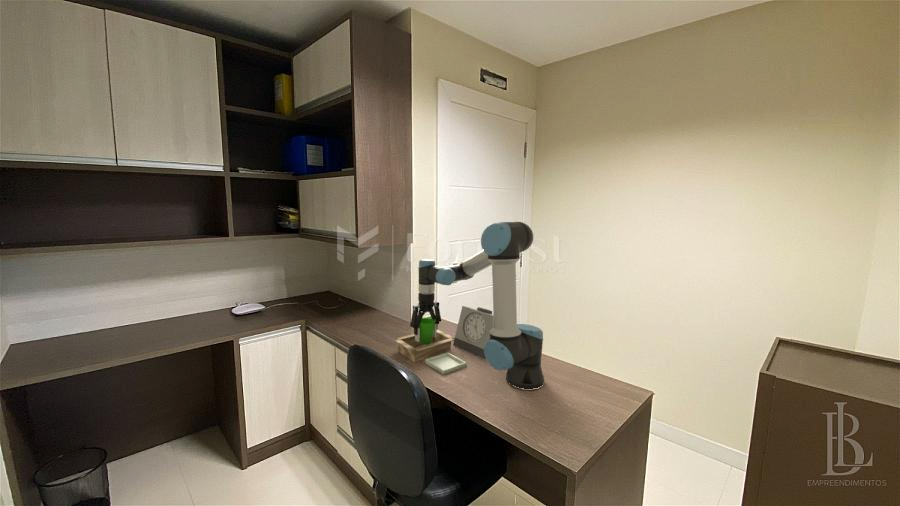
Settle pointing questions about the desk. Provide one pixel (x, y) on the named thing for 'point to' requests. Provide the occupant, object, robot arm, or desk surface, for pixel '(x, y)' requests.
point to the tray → (445, 363)
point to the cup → (426, 330)
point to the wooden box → (439, 346)
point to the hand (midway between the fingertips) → (425, 338)
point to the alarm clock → (474, 330)
